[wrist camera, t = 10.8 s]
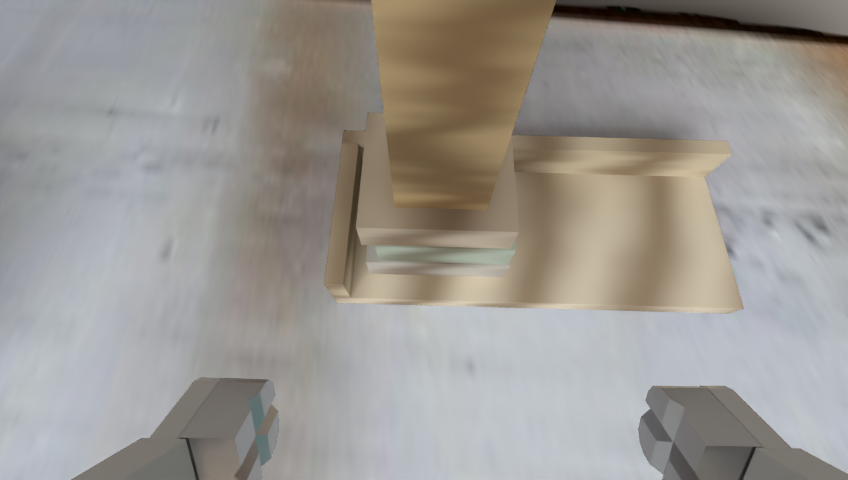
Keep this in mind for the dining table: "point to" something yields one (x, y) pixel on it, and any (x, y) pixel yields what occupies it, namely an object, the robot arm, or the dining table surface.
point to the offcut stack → (432, 223)
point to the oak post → (453, 92)
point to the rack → (572, 232)
